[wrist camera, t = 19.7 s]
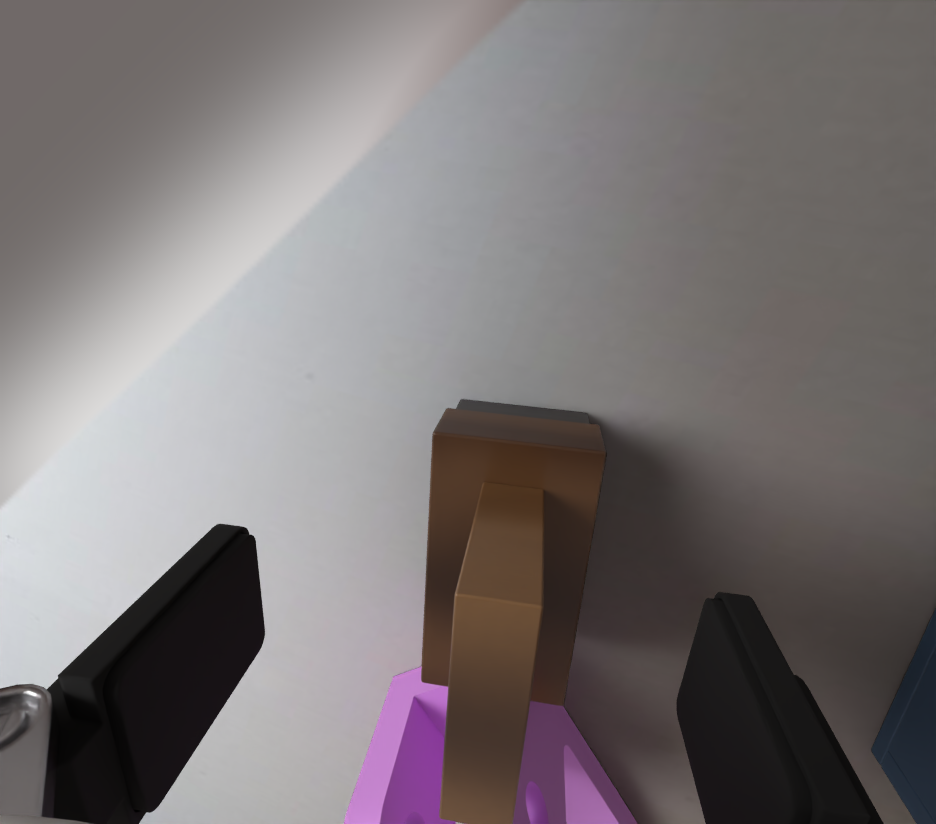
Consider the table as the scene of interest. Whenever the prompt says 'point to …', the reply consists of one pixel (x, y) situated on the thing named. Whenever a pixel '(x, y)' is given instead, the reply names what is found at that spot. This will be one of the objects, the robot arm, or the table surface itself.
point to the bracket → (421, 760)
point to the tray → (913, 733)
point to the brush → (503, 585)
